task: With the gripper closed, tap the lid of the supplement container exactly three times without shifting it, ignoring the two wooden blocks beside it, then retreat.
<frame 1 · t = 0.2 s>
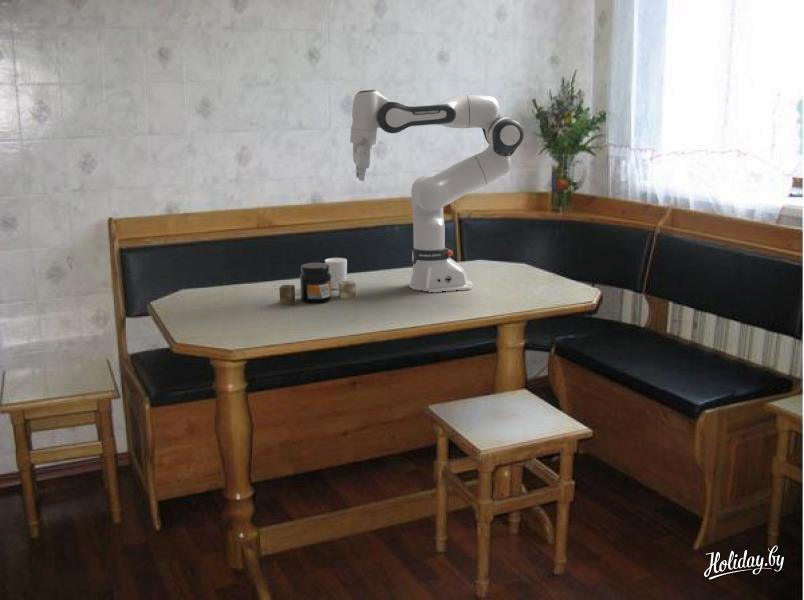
hand: (359, 179, 293), 39 cm above the table, tool pointing down, fingers open, 8 cm apart
walnut block: (287, 303, 284), on the table
white cup: (336, 287, 306), on the table
supplement container: (316, 300, 288), on the table
beech block: (347, 296, 293), on the table
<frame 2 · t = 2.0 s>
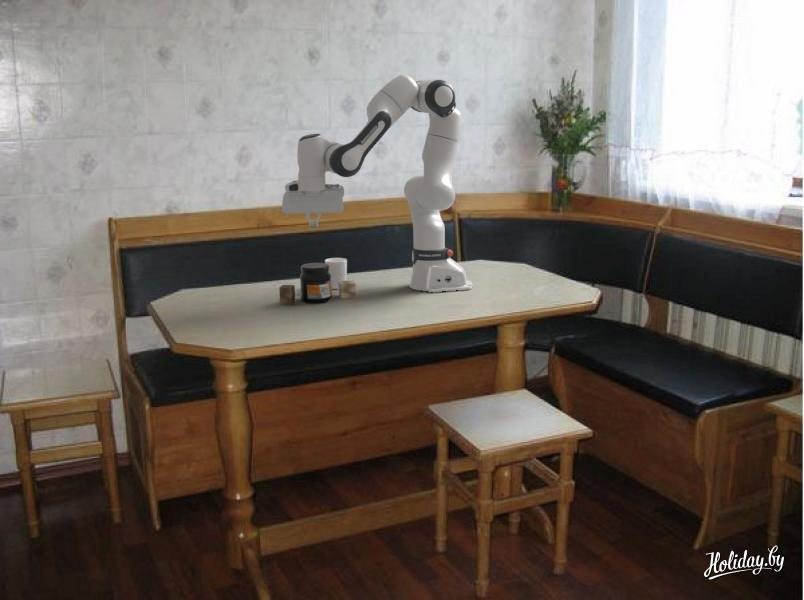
hand: (313, 226, 282), 25 cm above the table, tool pointing down, fingers closed
nothing on the table moved.
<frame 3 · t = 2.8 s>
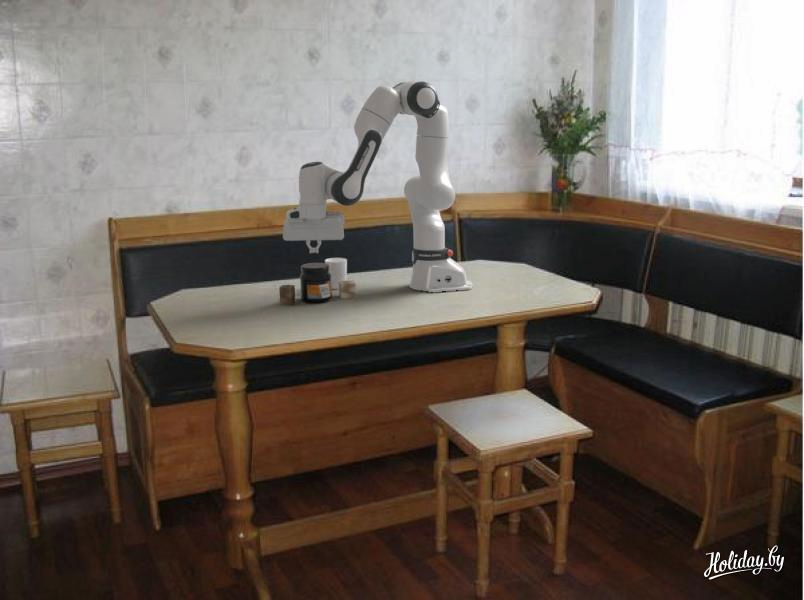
hand: (314, 253, 284), 16 cm above the table, tool pointing down, fingers closed
nothing on the table moved.
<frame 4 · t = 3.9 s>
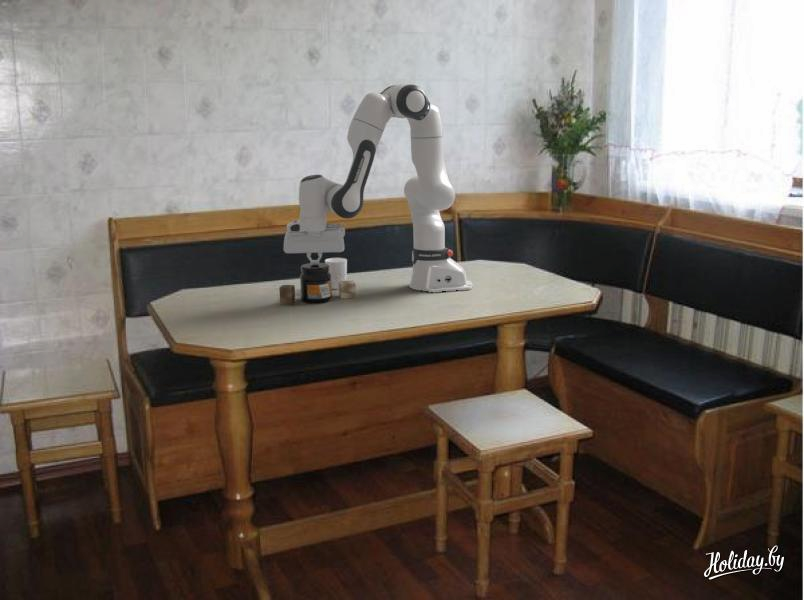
hand: (314, 265, 285), 12 cm above the table, tool pointing down, fingers closed, pressing on supplement container
supplement container: (316, 300, 288), on the table, touching gripper
everything else where it was.
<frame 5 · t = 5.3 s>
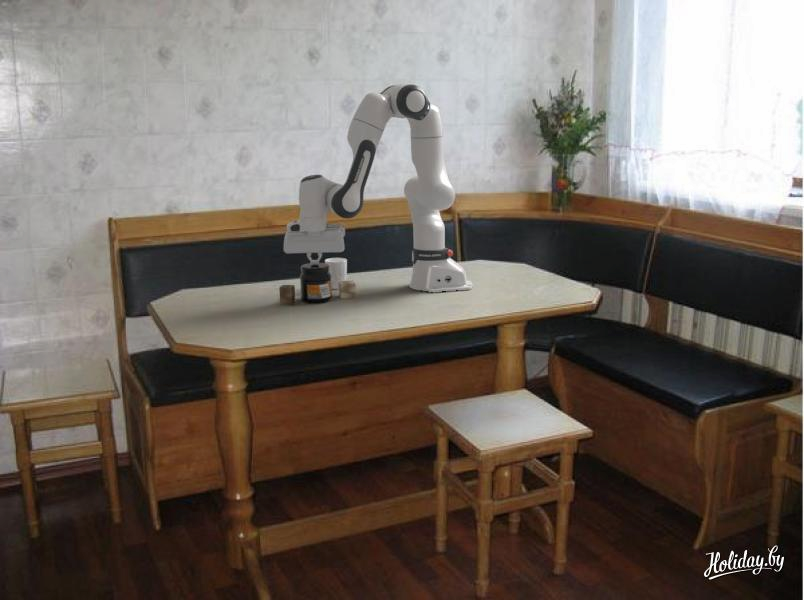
hand: (314, 265, 285), 12 cm above the table, tool pointing down, fingers closed, pressing on supplement container
supplement container: (316, 300, 288), on the table, touching gripper
everything else where it was.
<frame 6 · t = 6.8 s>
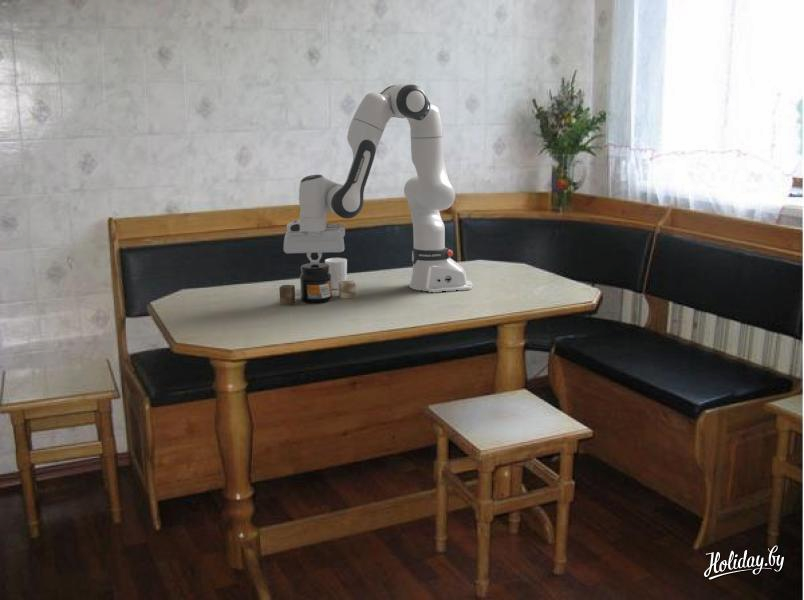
hand: (314, 265, 285), 12 cm above the table, tool pointing down, fingers closed, pressing on supplement container
supplement container: (316, 300, 288), on the table, touching gripper
everything else where it was.
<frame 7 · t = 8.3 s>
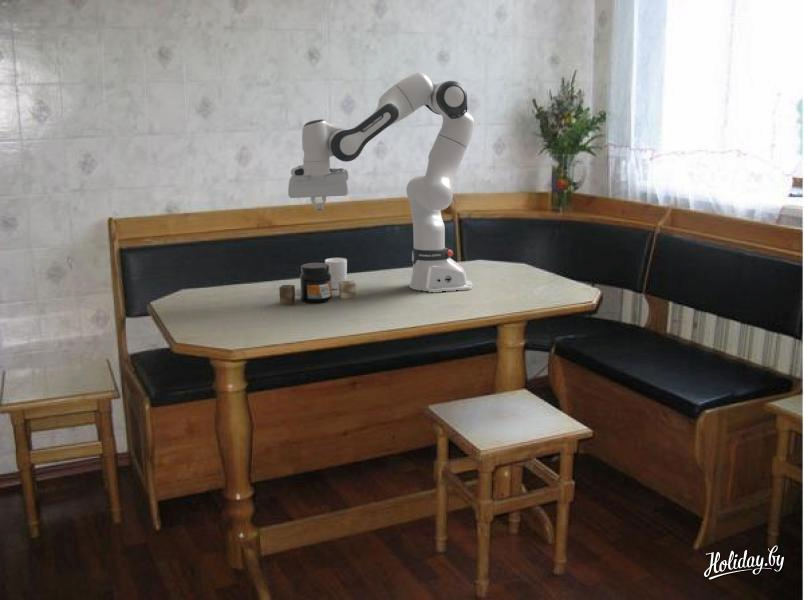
hand: (319, 210, 291), 29 cm above the table, tool pointing down, fingers closed
supplement container: (316, 300, 288), on the table
everything else where it was.
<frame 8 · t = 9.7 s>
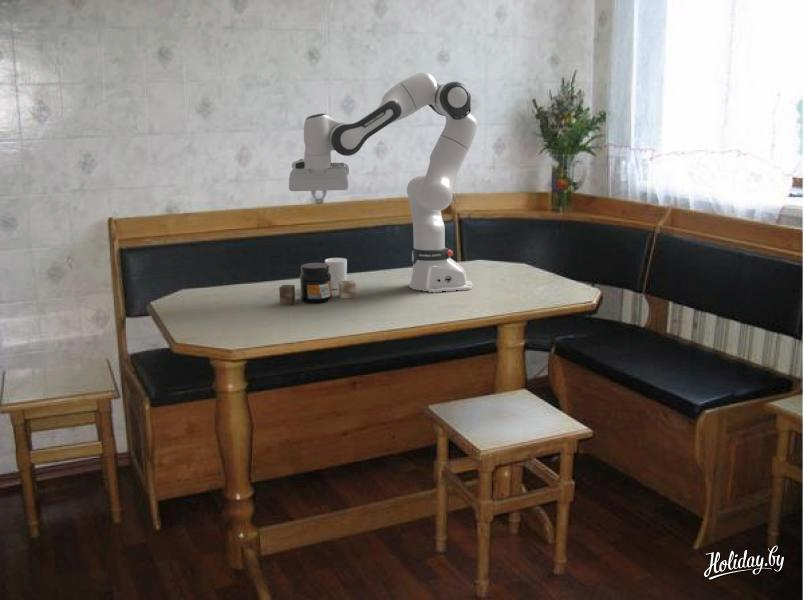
hand: (319, 203, 291), 31 cm above the table, tool pointing down, fingers closed
nothing on the table moved.
at the end: supplement container moved 0.2 cm from its start; supplement container tilted 0°; walnut block moved 0.1 cm from its start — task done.
